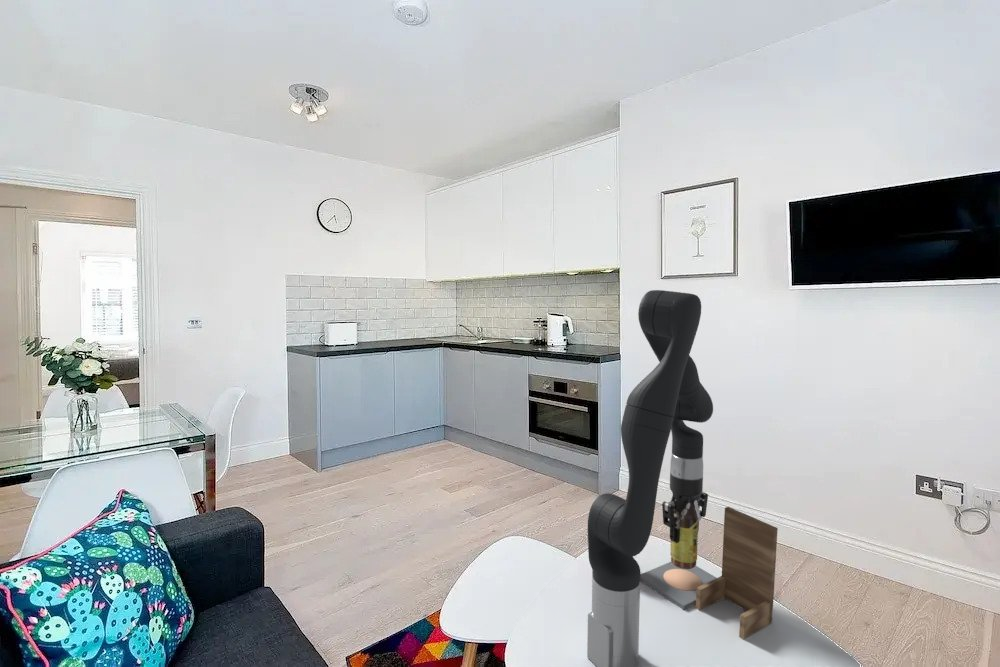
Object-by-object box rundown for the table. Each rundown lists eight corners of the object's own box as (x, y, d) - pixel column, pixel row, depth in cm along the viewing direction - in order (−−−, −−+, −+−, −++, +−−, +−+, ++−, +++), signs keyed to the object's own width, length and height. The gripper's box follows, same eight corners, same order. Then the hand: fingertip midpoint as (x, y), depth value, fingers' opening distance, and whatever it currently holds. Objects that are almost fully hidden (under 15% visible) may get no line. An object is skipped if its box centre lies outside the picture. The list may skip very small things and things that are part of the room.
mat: (683, 609, 117) (683, 605, 116) (638, 578, 129) (638, 574, 128) (727, 587, 125) (727, 583, 124) (681, 560, 137) (681, 556, 136)
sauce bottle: (699, 571, 122) (701, 492, 120) (671, 569, 123) (673, 491, 121) (694, 557, 128) (696, 481, 126) (668, 554, 130) (670, 480, 127)
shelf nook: (743, 639, 107) (748, 540, 104) (695, 607, 117) (699, 517, 115) (772, 622, 112) (777, 528, 110) (723, 593, 122) (728, 506, 120)
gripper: (678, 483, 116) (676, 553, 118) (719, 471, 124) (716, 536, 126) (653, 473, 123) (651, 538, 125) (693, 461, 130) (691, 524, 132)
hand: (684, 537), depth 125 cm, fingers closed on sauce bottle, 6 cm apart
